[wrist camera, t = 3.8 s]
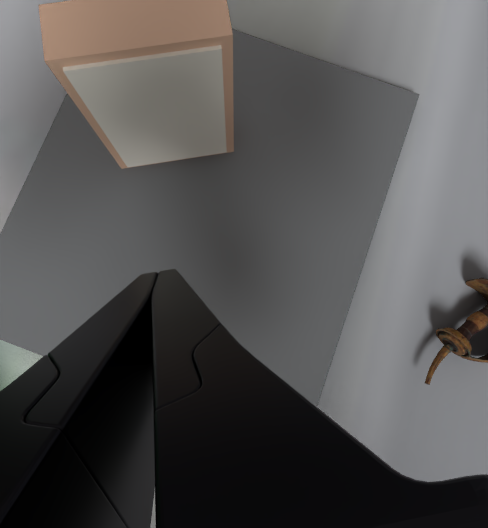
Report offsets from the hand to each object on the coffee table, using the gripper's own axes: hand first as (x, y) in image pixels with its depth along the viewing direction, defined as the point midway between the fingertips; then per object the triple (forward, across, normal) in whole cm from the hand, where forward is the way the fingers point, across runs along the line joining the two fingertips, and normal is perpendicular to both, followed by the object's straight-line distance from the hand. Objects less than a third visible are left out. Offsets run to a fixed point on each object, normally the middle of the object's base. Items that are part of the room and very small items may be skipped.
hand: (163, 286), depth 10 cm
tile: (+14, 0, -2) cm, 14 cm away
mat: (+12, +1, -5) cm, 13 cm away
